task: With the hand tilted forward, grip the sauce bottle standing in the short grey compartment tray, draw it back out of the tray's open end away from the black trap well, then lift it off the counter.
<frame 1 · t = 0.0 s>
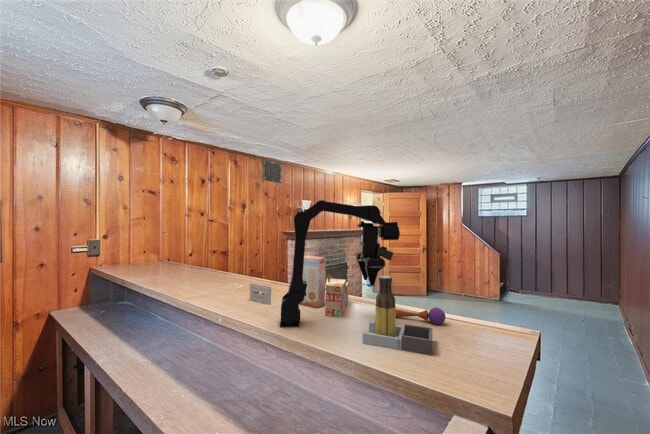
hand: (368, 282, 108), 15 cm above the bar counter, tool pointing down, fingers open, 9 cm apart
cracker box: (308, 304, 130), on the bar counter
stack of blocks: (337, 309, 124), on the bar counter
grey compartment tray: (375, 338, 95), on the bar counter
cassette: (259, 302, 130), on the bar counter
sauce bottle: (384, 340, 94), on the bar counter
kendama: (416, 321, 113), on the bar counter
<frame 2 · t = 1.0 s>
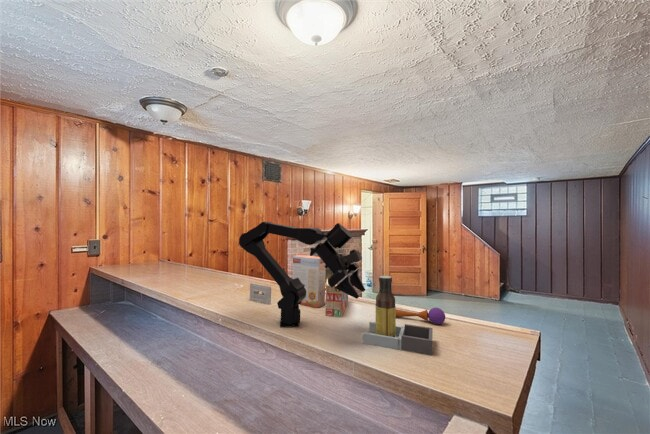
hand: (361, 294, 97), 13 cm above the bar counter, tool tilted 45°, fingers open, 9 cm apart
nothing on the bar counter moved.
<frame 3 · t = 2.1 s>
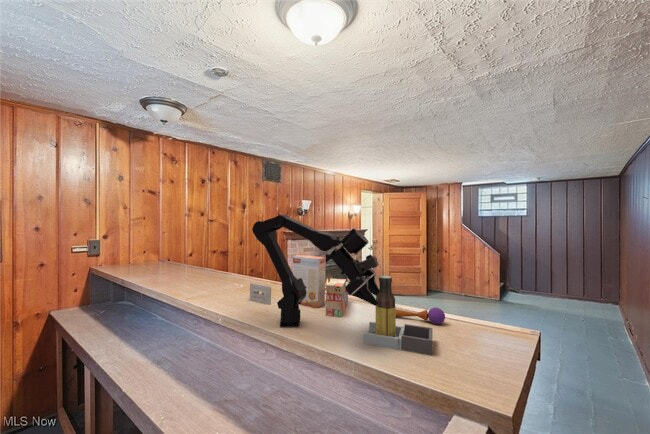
hand: (379, 300, 94), 12 cm above the bar counter, tool tilted 45°, fingers open, 9 cm apart
nothing on the bar counter moved.
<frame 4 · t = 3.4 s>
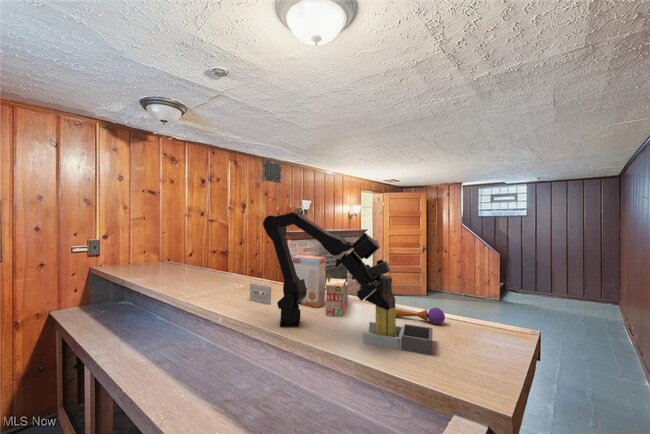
hand: (390, 306, 93), 11 cm above the bar counter, tool tilted 45°, fingers closed on sauce bottle, 6 cm apart
sauce bottle: (384, 340, 94), on the bar counter, touching gripper
everything else where it was.
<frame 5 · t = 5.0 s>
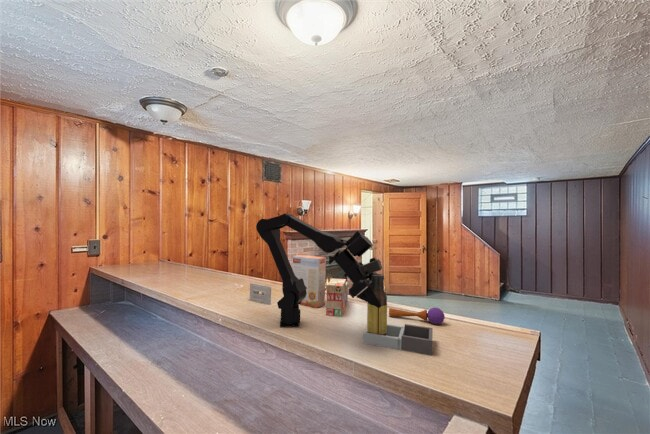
hand: (381, 304, 94), 11 cm above the bar counter, tool tilted 45°, fingers closed on sauce bottle, 6 cm apart
sauce bottle: (376, 337, 95), on the bar counter, touching gripper
everything else where it was.
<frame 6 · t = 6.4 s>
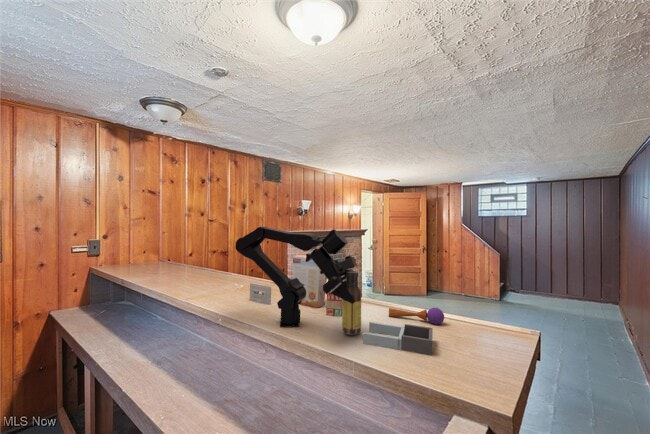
hand: (356, 300, 97), 11 cm above the bar counter, tool tilted 45°, fingers closed on sauce bottle, 6 cm apart
sauce bottle: (351, 332, 97), on the bar counter, touching gripper
everything else where it was.
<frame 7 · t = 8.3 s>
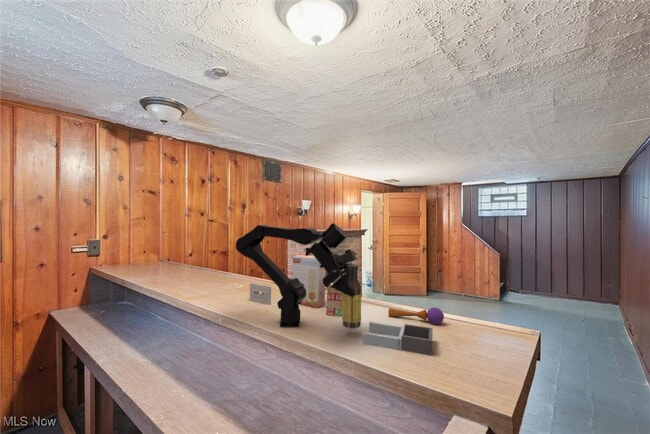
hand: (356, 293, 97), 13 cm above the bar counter, tool tilted 45°, fingers closed on sauce bottle, 6 cm apart
sauce bottle: (351, 326, 97), point 3 cm above the bar counter, touching gripper
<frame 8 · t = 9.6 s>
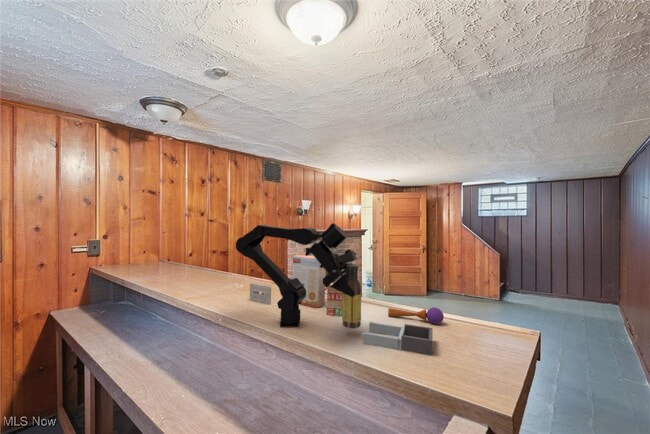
hand: (356, 293, 97), 13 cm above the bar counter, tool tilted 45°, fingers closed on sauce bottle, 6 cm apart
sauce bottle: (351, 326, 97), point 3 cm above the bar counter, touching gripper
at the end: sauce bottle 1.7 cm from the target spot, point 2.5 cm above the bar counter; the gripper is holding sauce bottle; sauce bottle tilted 0° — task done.
